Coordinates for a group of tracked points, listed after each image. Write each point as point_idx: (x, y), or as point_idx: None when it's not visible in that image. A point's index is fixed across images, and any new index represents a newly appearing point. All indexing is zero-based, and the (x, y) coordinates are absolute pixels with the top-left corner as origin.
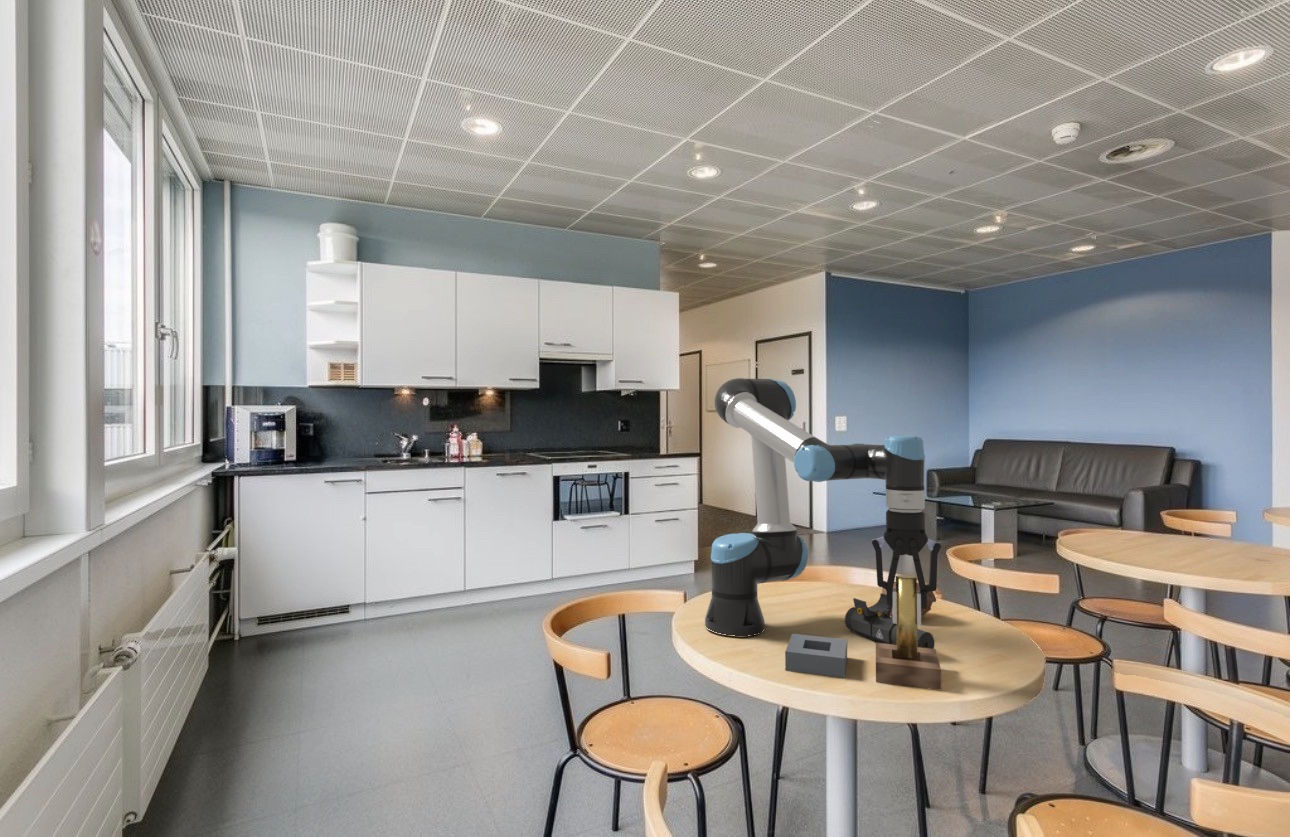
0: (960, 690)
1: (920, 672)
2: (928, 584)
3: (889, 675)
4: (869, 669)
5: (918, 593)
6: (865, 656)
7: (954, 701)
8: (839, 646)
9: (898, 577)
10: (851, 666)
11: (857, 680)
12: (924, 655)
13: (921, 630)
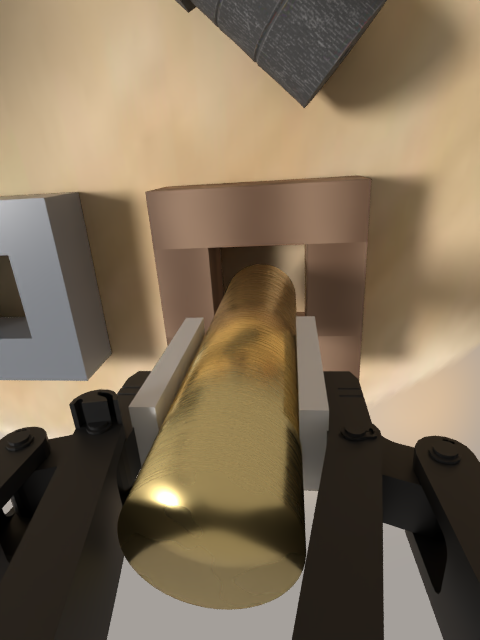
0: (402, 336)
1: None
2: (407, 501)
3: None
4: None
5: (311, 482)
6: (128, 152)
7: (372, 405)
8: (44, 285)
9: (145, 561)
10: (108, 264)
11: (143, 357)
12: (320, 272)
13: (331, 10)
